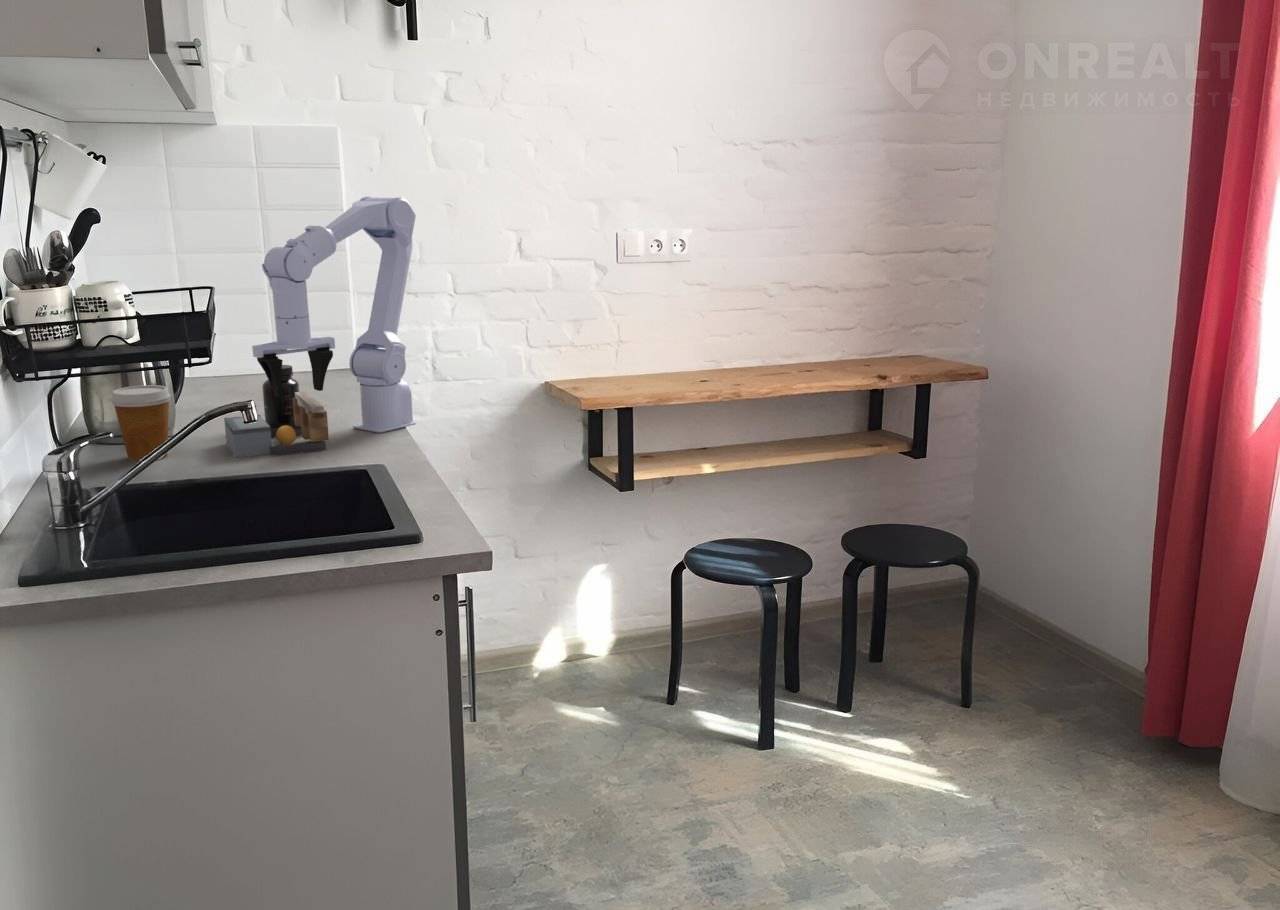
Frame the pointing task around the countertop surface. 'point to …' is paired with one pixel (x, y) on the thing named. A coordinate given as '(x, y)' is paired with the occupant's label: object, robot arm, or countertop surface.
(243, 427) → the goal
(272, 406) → the supplement bottle
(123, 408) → the disposable coffee cup
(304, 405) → the tan piece
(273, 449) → the rail frame
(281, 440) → the ball
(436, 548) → the countertop surface
